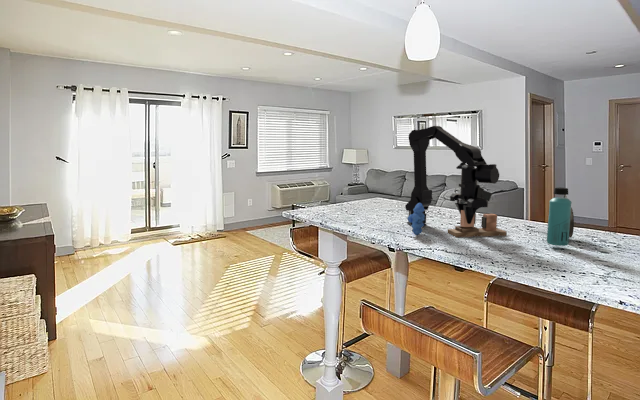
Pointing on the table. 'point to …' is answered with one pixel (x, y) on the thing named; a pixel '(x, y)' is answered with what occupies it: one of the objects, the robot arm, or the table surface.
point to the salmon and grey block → (464, 222)
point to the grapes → (417, 219)
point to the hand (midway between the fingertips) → (467, 222)
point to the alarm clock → (571, 221)
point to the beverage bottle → (559, 219)
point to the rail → (487, 228)
